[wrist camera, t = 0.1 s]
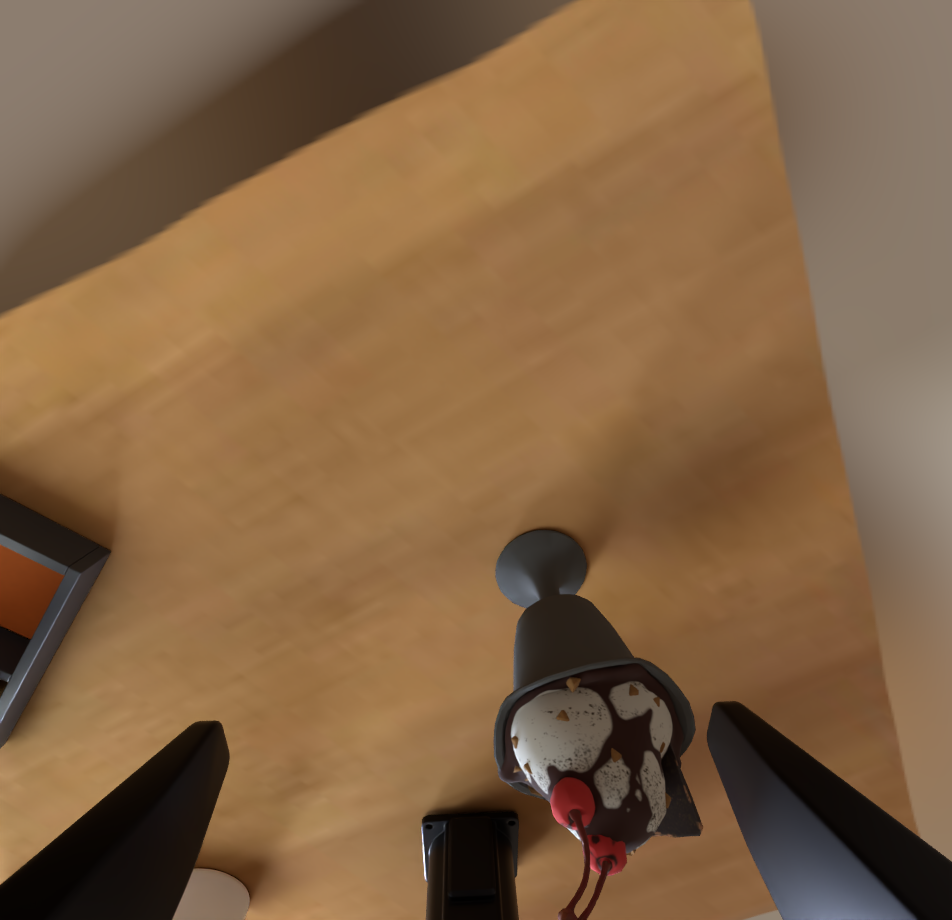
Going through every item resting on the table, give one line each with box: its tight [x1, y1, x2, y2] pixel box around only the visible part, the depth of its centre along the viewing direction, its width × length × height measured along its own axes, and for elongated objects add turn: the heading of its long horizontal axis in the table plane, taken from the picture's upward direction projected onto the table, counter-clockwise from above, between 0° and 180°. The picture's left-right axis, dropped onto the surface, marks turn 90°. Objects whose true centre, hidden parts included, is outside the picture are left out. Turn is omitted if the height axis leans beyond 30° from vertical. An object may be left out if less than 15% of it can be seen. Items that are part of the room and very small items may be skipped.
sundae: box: [494, 530, 703, 920], centre depth 17 cm, size 7×7×15 cm
